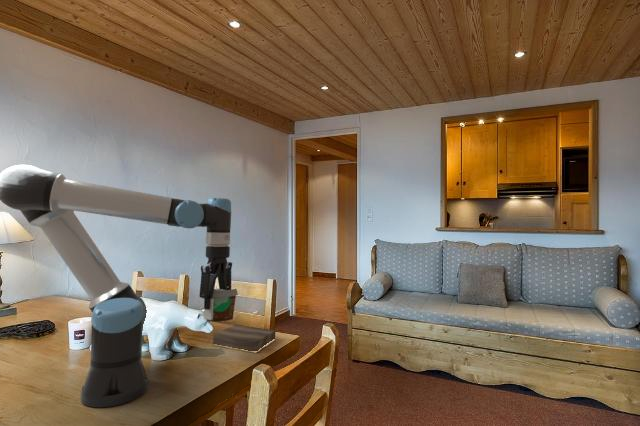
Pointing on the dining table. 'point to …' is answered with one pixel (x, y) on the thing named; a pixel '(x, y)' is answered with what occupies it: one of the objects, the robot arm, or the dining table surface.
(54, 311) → the dining table surface
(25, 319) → the dining table surface
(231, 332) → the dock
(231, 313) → the food container
